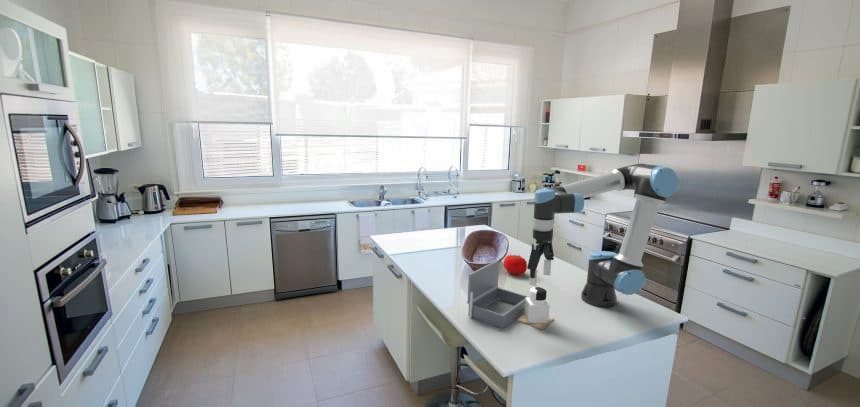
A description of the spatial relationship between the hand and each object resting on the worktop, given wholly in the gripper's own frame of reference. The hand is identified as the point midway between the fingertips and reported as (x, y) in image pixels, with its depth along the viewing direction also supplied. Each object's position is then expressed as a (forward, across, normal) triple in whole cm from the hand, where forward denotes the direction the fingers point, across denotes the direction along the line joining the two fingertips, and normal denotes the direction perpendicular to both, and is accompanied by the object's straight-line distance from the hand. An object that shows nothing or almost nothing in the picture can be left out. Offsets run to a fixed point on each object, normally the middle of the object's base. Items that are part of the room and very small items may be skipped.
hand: (540, 280), depth 157 cm
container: (+17, +1, -1) cm, 17 cm away
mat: (+17, +1, -1) cm, 17 cm away
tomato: (+18, -42, -32) cm, 56 cm away
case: (+17, +4, -16) cm, 24 cm away
